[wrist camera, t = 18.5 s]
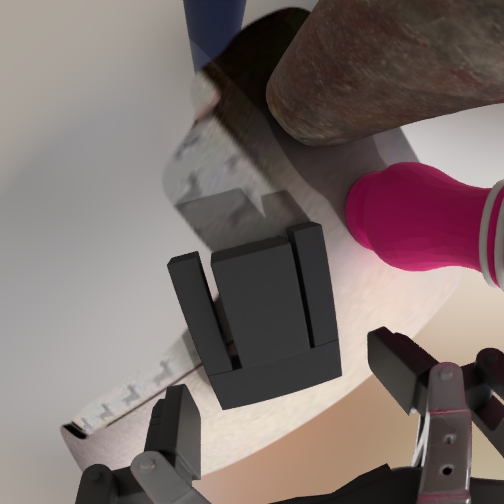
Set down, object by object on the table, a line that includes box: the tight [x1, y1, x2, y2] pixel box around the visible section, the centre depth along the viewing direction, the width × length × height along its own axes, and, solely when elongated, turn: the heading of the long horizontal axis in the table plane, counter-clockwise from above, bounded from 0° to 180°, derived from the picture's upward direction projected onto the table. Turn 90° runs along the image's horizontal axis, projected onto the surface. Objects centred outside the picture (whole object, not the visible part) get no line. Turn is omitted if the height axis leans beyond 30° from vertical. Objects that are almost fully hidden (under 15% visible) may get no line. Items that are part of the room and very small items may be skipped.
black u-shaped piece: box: [167, 222, 342, 410], centre depth 20 cm, size 13×10×2 cm
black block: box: [211, 236, 310, 369], centre depth 19 cm, size 8×5×3 cm, turn 13°
